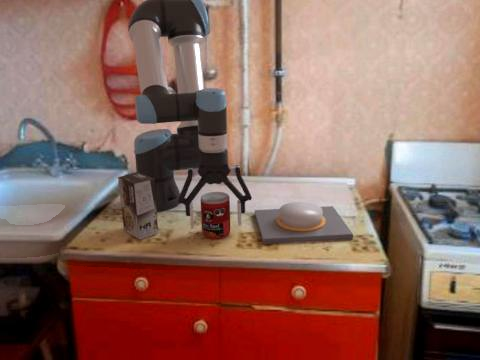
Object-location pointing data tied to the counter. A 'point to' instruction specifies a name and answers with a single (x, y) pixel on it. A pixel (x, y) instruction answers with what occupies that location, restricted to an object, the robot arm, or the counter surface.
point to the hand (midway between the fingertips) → (216, 225)
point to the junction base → (292, 236)
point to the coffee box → (138, 205)
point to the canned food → (215, 215)
